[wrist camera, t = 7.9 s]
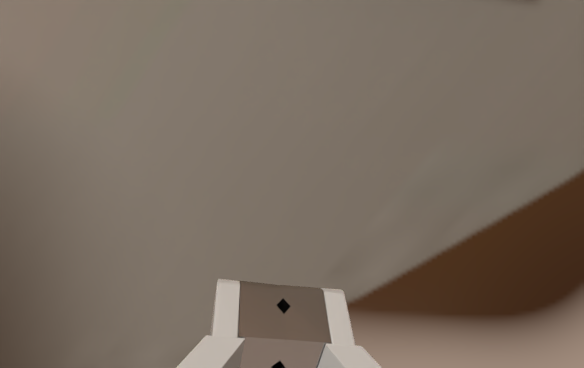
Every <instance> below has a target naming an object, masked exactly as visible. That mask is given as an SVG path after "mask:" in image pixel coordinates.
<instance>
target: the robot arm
mask: <svg viewBox="0 0 584 368" xmlns="http://www.w3.org/2000/svg"><path fill="white" fill-rule="evenodd" d="M176 368H382V367H381V366H380V365H379V364H378V363H377V362H376V361H375V360H374V359H373V358H372V357H371V356H370V355H369V353H368V352H367V351H366V350H365V349H364V348H363V347H362V346H356V345H355V340H354V335H353V331H352V326H351V322H350V317H349V313H348V308H347V303H346V298H345V294H344V292H343V291H342V290H340V289H326V288H313V287H300V286H287V285H273V284H264V283H255V282H247V281H240V282H239V281H233V280H225V279H218V282H217V288H216V295H215V302H214V309H213V317H212V324H211V331H210V336H207V335H206V336H205V337H204V338H203V339H202V340H201V341H200V342H199V343H198V345H197V346H196V347H195V348H194V349H193V350H192V351H191V352H190V353H189V354H188V355H187V357H186V358H185V359H184V360H183V361H182V362H181V363H180V364H179V365H178V366H177V367H176Z"/></svg>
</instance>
